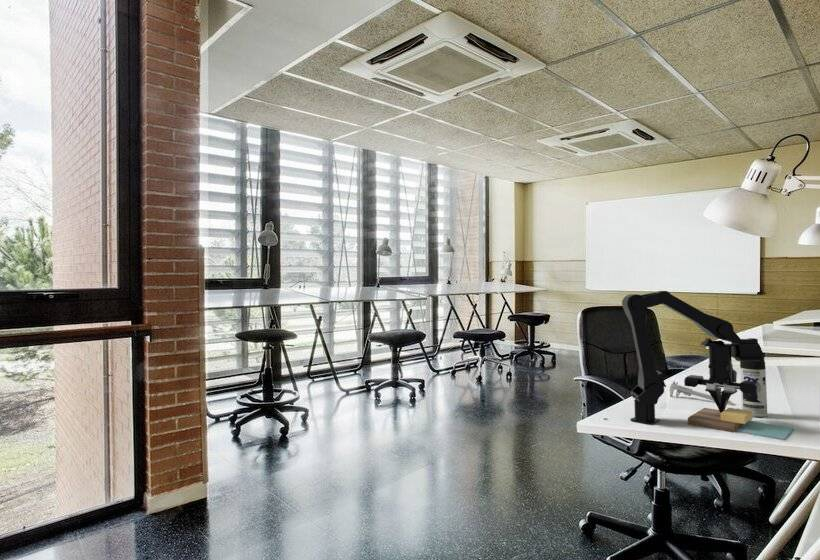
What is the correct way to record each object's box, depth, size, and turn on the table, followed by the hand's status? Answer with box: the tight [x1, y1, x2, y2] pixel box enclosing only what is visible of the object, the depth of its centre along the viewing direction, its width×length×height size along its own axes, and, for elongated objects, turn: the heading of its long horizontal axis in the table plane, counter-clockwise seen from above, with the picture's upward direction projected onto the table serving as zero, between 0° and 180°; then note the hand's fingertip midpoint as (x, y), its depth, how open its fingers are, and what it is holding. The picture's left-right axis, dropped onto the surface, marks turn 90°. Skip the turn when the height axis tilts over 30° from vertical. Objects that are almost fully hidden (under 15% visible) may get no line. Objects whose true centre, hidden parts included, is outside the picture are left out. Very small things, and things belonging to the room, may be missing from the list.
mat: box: [737, 420, 795, 441], centre depth 135 cm, size 14×10×1 cm
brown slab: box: [687, 407, 744, 433], centre depth 144 cm, size 16×12×2 cm
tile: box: [720, 407, 754, 425], centre depth 140 cm, size 9×6×2 cm, turn 132°
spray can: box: [739, 351, 768, 419], centre depth 151 cm, size 7×7×20 cm
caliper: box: [669, 380, 736, 406], centre depth 171 cm, size 20×1×6 cm, turn 47°
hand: (722, 412), depth 143 cm, fingers closed
